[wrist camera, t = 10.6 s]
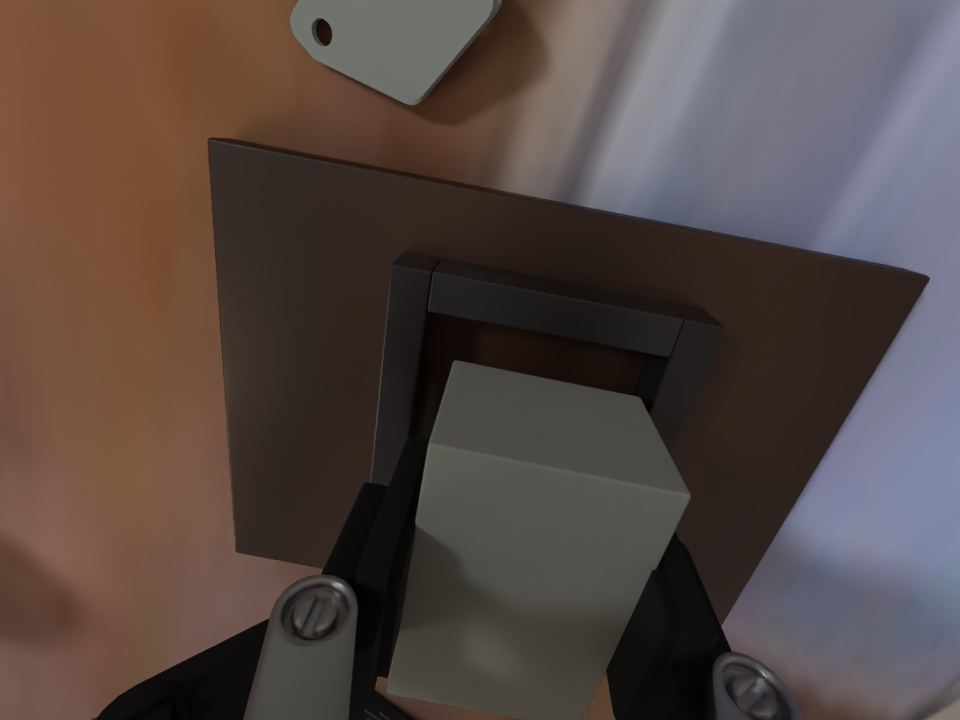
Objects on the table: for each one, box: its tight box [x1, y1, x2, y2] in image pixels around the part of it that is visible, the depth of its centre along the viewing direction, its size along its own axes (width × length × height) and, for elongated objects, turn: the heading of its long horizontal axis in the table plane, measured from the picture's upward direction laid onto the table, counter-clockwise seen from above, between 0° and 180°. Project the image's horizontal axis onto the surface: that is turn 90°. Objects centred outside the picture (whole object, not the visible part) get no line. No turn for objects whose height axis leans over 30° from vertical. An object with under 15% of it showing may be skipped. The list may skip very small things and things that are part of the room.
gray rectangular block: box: [387, 360, 691, 720], centre depth 11 cm, size 4×7×4 cm, turn 169°
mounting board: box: [208, 138, 930, 626], centre depth 14 cm, size 18×14×2 cm
